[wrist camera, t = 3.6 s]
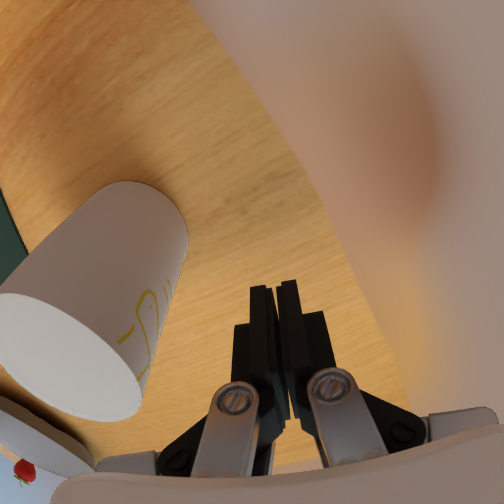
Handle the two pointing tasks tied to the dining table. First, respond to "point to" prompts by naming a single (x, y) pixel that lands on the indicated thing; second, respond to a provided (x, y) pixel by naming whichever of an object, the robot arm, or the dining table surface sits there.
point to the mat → (9, 243)
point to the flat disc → (42, 442)
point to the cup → (95, 303)
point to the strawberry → (25, 471)
